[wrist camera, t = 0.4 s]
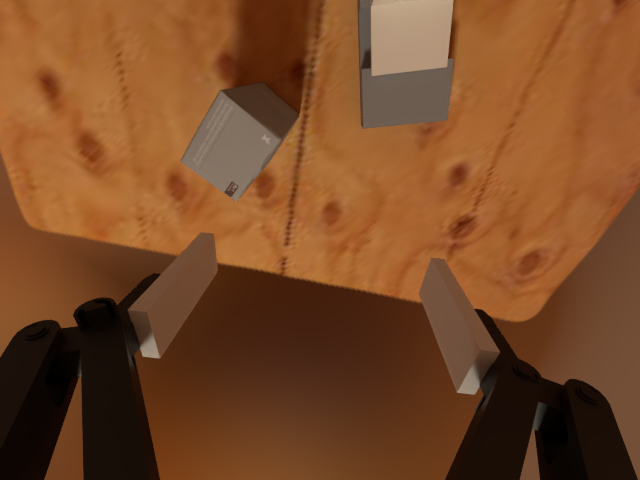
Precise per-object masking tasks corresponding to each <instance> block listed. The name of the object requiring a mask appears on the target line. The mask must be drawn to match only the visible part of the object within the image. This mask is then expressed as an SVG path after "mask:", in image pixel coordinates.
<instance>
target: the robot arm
mask: <svg viewBox="0 0 640 480" xmlns="http://www.w3.org/2000/svg"><path fill="white" fill-rule="evenodd" d="M217 271H218V269H217V259H216V250H215V241H214V234H212V233H203V232H201V233H200V234H199V235H198V236H197V237H196V238H195V239H194V240H193V241H192V242H191V244H190V245H189V246H188V247H187V248H186V249H185V250H184V251H183V252H182V253H181V254H180V255H179V256H178V257H177V258H176V259H175V260H174V261H173V263H172V264H171V265H170V266H169V267H168V268H167V269H166V270H165V271H164V272H163V273H162V274H155V273H154V274H152V275H150V276H148V277H146V278H145V279H143V280H142V281H141V282H140V283H139V284H138V285H137V287H135V288H134V289H133V290H132V291H131V293H129V294H128V295H127V296H126V297H125V298H124V299H123V300H122V301H121V302H120V303H119V304H118V305H116V303H115V301H114V300H113V299H111V298H97V299H93V300H90V301H88V302H86V303H84V304H82V305H80V306H79V307H78V308H77V309H76V310H75V312H74V315H73V316H74V318H75V320H76V322H77V325H78V326H77V327H70V328H61V327H60V325H59V323H58V322H56V321H54V320H43V321H39V322H36V323H33V324H31V325H28V326H26V327H24V328H23V329H22V330H20V331H19V332H17V334H16V335H15V336H14V337H13V338H12V340H11V341H10V343H9V345H8V346H7V348H6V349H5V351H4V352H3V354H2V356H1V357H0V480H44V478H45V476H46V473H47V469H48V467H49V464H50V461H51V458H52V455H53V452H54V449H55V446H56V443H57V440H58V437H59V434H60V431H61V428H62V425H63V422H64V419H65V416H66V414H67V411H68V407H69V405H70V402H71V399H72V396H73V393H74V390H75V387H76V384H77V381H78V378H79V377H82V378H81V381H82V424H83V425H82V426H83V469H84V471H83V472H84V480H160V478H159V472H158V467H157V462H156V457H155V452H154V448H153V442H152V437H151V433H150V428H149V423H148V418H147V413H146V408H145V404H144V398H143V393H142V388H141V383H140V379H139V374H138V369H137V364H136V359H135V356H134V355H135V353H136V352H137V351H138V349H139V348H140V349H141V352H142V355H143V356H144V357H153V358H161V356H162V355H163V353H164V352H165V350H166V349H167V347H168V346H169V344H170V343H171V341H172V340H173V338H174V337H175V335H176V333H177V332H178V330H179V329H180V327H181V326H182V324H183V323H184V321H185V320H186V318H187V317H188V315H189V314H190V312H191V311H192V309H193V307H194V306H195V305H196V303H197V302H198V300H199V299H200V297H201V296H202V294H203V292H204V291H205V289H206V288H207V286H208V285H209V284H210V282H211V280H212V279H213V277H214V276H215V274H216V273H217ZM419 295H420V298H421V300H422V303H423V305H424V308H425V311H426V313H427V316H428V318H429V321H430V324H431V326H432V329H433V331H434V334H435V337H436V339H437V342H438V344H439V347H440V349H441V352H442V355H443V357H444V360H445V363H446V365H447V368H448V371H449V373H450V376H451V378H452V381H453V383H454V386H455V389H456V391H457V393H465V394H475V393H476V391H477V390H478V388H479V386H480V387H481V390H482V392H483V394H484V396H483V397H482V399H481V401H480V402H479V404H478V405H477V407H476V408H475V410H476V412H475V414H474V416H473V419H472V421H471V423H470V425H469V427H468V430H467V432H466V434H465V436H464V439H463V441H462V443H461V445H460V448H459V450H458V452H457V454H456V456H455V459H454V461H453V463H452V465H451V467H450V470H449V472H448V474H447V476H446V479H445V480H520V476H521V472H522V467H523V463H524V459H525V455H526V451H527V447H528V443H529V439H530V435H531V431H532V429H534V430H535V438H536V447H537V456H538V464H539V473H540V480H638V479H637V476H636V474H635V471H634V468H633V466H632V463H631V460H630V457H629V455H628V452H627V449H626V447H625V444H624V441H623V439H622V436H621V433H620V431H619V428H618V425H617V423H616V420H615V417H614V414H613V412H612V409H611V406H610V404H609V403H608V401H607V400H606V398H605V397H604V396H603V395H602V394H601V393H600V392H599V391H598V390H596V389H595V388H594V387H592V386H591V385H589V384H587V383H585V382H583V381H579V380H577V379H569V380H568V381H566V383H565V384H564V385H561V384H558V383H555V382H552V381H550V380H547V379H544V378H542V377H541V375H540V373H539V372H538V371H537V370H536V369H535V368H534V367H532V366H531V365H530V364H528V363H527V362H524V361H522V360H520V359H518V358H517V356H516V355H515V353H514V352H513V350H512V349H511V347H510V345H509V344H508V342H507V341H506V339H505V338H504V337H503V335H501V332H500V331H499V329H498V328H497V326H496V324H495V323H494V321H493V320H492V318H491V317H490V316H489V315H488V314H487V313H485V312H484V311H483V310H481V309H474V308H473V306H472V305H471V303H470V301H469V300H468V298H467V296H466V295H465V293H464V292H463V290H462V288H461V287H460V285H459V283H458V282H457V280H456V278H455V277H454V275H453V273H452V272H451V270H450V268H449V267H448V265H447V263H446V262H445V260H444V259H437V258H431V260H430V263H429V266H428V269H427V272H426V275H425V277H424V280H423V283H422V286H421V289H420V292H419Z"/></svg>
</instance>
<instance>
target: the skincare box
mask: <svg viewBox="0 0 640 480" xmlns="http://www.w3.org/2000/svg"><path fill="white" fill-rule="evenodd" d="M298 117H299V114H298V113H297V112H296V111H295V110H293V109H292V108H291V107H290V106H289V105H288V104H287V103H286V102H284V101H283V100H282V99H281V98H280V97H279V96H278V95H276V94H275V93H274V92H273V91H272V90H271V89H270V88H269V87H267V86H266V85H265V84H264V83H263V82H260V83H255V84H250V85H245V86H240V87H235V88H230V89H225V90H220V91H219V93H218V95H217V96H216V98H215V100H214V102H213V103H212V105H211V107H210V109H209V110H208V112H207V114H206V116H205V117H204V119H203V121H202V122H201V124H200V126H199V128H198V129H197V131H196V133H195V135H194V137H193V139H192V140H191V142H190V144H189V146H188V148H187V150H186V151H185V153H184V155H183V157H182V159H181V162H182V163H183V164H185V165H186V166H187V167H189V168H190V169H192V170H193V171H194V172H196V173H197V174H198V175H200V176H201V177H203V178H204V179H205V180H207V181H208V182H210V183H211V184H212V185H214V186H215V187H216V188H218V189H219V190H221V191H222V192H223V193H225V194H226V195H228V196H229V197H230V198H232V199H233V200H235V201H237V200H238V199H239V198H240V197H241V196H242V195H243V193H244V192H245V191H246V190H247V189H248V187H249V186H250V185H251V184H252V183H253V181H254V180H255V179H256V178H257V176H258V175H259V174H260V173H261V172H262V170H263V169H264V168H265V167H266V165H267V164H268V163H269V162H270V160H271V159H272V157H273V156H274V154H275V153H276V151H277V149H278V148H279V147H280V145H281V144H282V142H283V140H284V139H285V137H286V136H287V134H288V133H289V131H290V130H291V128H292V127H293V125H294V124H295V122H296V120H297V119H298Z"/></svg>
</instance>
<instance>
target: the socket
mask: <svg viewBox="0 0 640 480" xmlns="http://www.w3.org/2000/svg"><path fill="white" fill-rule="evenodd" d="M357 1H358V35H359V70H360V105H361V126H362V127H363V129H365V128H375V127H385V126H395V125H405V124H415V123H425V122H435V121H445V120H447V119H448V110H449V100H450V91H451V81H452V72H453V63H454V58H450V59H448V62H447V67H445V68H436V69H428V70H419V71H411V72H403V73H394V74H386V75H377V76H371V29H370V0H357Z"/></svg>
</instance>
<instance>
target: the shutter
mask: <svg viewBox="0 0 640 480" xmlns="http://www.w3.org/2000/svg"><path fill="white" fill-rule="evenodd" d="M453 1H454V0H370V29H371V76H377V75H386V74H394V73H403V72H411V71H419V70H428V69H436V68H445V67H447V62H448V52H449V42H450V32H451V21H452V11H453Z"/></svg>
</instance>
